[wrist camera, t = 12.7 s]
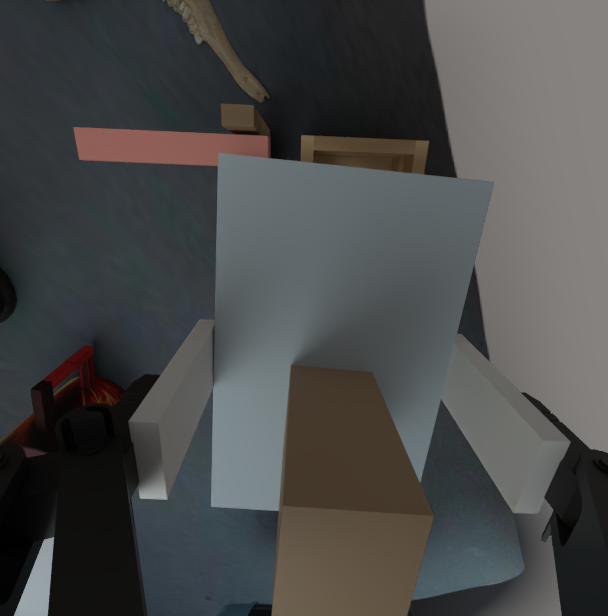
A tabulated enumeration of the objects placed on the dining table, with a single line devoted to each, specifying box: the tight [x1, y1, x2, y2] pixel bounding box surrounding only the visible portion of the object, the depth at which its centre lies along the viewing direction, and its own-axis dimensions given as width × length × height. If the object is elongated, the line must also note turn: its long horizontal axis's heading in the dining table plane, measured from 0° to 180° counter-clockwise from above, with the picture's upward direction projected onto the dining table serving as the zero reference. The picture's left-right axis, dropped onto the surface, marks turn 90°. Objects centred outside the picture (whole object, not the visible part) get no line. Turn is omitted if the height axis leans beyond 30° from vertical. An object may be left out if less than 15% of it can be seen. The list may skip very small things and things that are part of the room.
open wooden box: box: [301, 135, 429, 175], centre depth 33 cm, size 16×10×8 cm, turn 178°
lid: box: [211, 153, 494, 616], centre depth 12 cm, size 16×10×9 cm, turn 174°
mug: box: [0, 345, 125, 457], centre depth 39 cm, size 10×14×12 cm
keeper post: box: [221, 104, 271, 158], centre depth 28 cm, size 5×2×13 cm, turn 178°
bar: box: [73, 127, 270, 166], centre depth 24 cm, size 2×13×2 cm, turn 88°
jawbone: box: [47, 0, 270, 103], centre depth 29 cm, size 9×20×2 cm, turn 68°
